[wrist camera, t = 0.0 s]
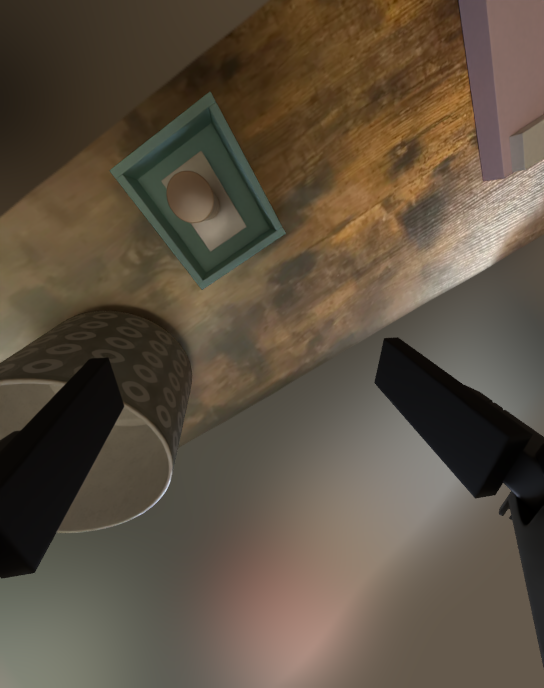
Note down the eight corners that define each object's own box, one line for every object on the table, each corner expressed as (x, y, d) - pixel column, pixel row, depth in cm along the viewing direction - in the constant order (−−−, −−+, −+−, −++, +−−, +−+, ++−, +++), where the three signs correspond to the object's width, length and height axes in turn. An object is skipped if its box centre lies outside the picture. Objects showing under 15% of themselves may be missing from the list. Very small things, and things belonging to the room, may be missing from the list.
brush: (167, 184, 29) (106, 153, 14) (204, 157, 28) (178, 95, 14) (212, 248, 32) (199, 275, 18) (245, 225, 32) (259, 234, 17)
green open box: (128, 177, 29) (108, 170, 24) (213, 112, 27) (210, 90, 23) (205, 280, 35) (202, 290, 30) (277, 230, 33) (286, 233, 29)
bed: (454, -23, 26) (497, -68, 21) (552, -96, 24) (617, -158, 20) (483, 181, 35) (517, 177, 31) (555, 135, 33) (600, 124, 29)
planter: (21, 349, 35) (-151, 461, 19) (133, 276, 33) (44, 333, 17) (125, 430, 44) (66, 555, 28) (218, 376, 42) (213, 476, 26)
